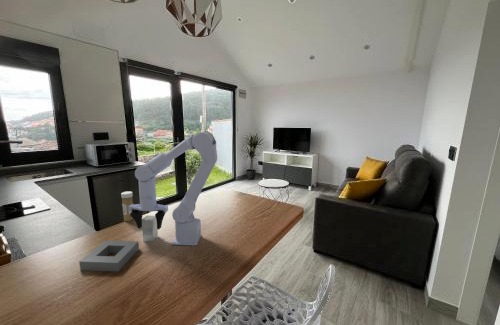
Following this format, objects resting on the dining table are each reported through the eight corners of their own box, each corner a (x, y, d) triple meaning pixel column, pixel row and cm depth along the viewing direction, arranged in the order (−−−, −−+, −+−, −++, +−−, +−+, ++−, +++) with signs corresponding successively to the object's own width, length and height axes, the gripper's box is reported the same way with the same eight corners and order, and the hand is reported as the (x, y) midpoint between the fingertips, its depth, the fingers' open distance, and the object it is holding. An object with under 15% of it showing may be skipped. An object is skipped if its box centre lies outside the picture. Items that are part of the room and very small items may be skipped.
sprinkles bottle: (135, 220, 100) (132, 193, 97) (123, 222, 97) (121, 194, 95) (134, 216, 104) (131, 190, 101) (123, 218, 101) (120, 191, 99)
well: (138, 248, 78) (138, 241, 77) (118, 271, 66) (117, 262, 65) (106, 247, 78) (105, 240, 77) (80, 270, 66) (79, 261, 65)
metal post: (157, 236, 86) (156, 215, 85) (153, 241, 83) (152, 220, 81) (148, 236, 87) (146, 215, 85) (143, 241, 83) (141, 220, 81)
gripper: (170, 192, 85) (171, 223, 88) (134, 191, 85) (137, 222, 88) (163, 198, 78) (164, 232, 81) (124, 197, 78) (127, 231, 81)
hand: (149, 227), depth 84 cm, fingers open, 7 cm apart
